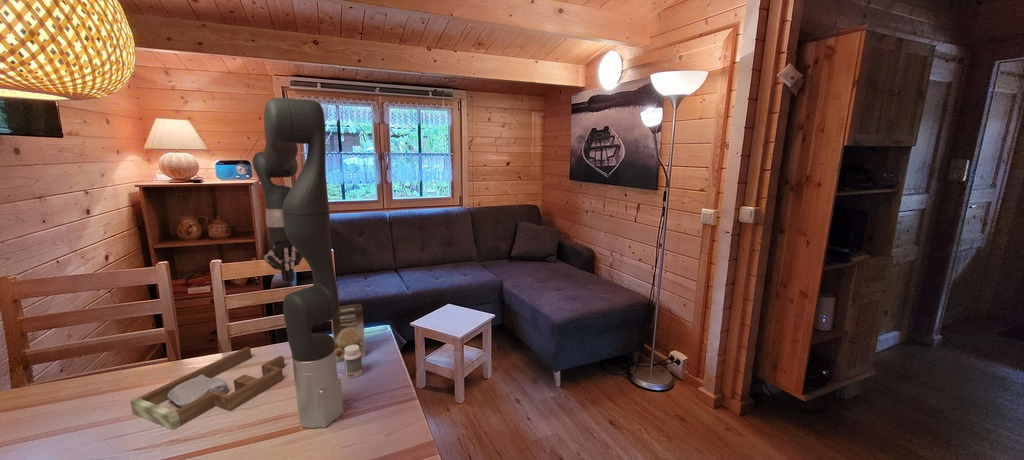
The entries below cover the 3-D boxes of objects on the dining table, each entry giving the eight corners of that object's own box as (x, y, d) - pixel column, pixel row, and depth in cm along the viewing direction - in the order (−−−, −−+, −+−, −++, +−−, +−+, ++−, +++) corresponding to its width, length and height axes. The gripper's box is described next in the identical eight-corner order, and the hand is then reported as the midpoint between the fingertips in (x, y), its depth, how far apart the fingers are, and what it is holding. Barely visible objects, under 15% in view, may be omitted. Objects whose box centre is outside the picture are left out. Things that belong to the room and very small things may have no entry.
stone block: (197, 419, 99) (233, 390, 108) (190, 405, 97) (227, 376, 106) (164, 411, 102) (202, 383, 111) (157, 397, 101) (195, 370, 109)
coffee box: (334, 363, 122) (330, 314, 119) (334, 353, 127) (330, 307, 124) (366, 356, 126) (362, 309, 122) (364, 347, 131) (361, 302, 128)
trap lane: (298, 370, 117) (297, 360, 116) (188, 436, 90) (185, 422, 90) (248, 357, 125) (246, 346, 124) (132, 413, 98) (130, 401, 97)
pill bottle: (366, 372, 117) (364, 346, 115) (352, 380, 113) (350, 353, 111) (356, 367, 119) (354, 342, 118) (342, 375, 115) (339, 348, 114)
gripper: (270, 228, 104) (277, 290, 107) (311, 220, 116) (316, 276, 119) (250, 226, 106) (258, 287, 110) (292, 218, 119) (298, 273, 122)
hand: (288, 281), depth 115 cm, fingers closed
